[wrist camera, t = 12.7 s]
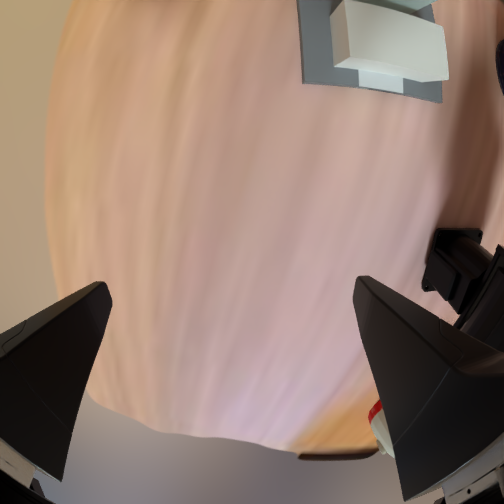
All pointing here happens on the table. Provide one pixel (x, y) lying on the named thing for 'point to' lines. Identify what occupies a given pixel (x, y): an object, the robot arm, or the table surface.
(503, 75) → the storage jar
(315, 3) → the board
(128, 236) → the table surface
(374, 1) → the block
